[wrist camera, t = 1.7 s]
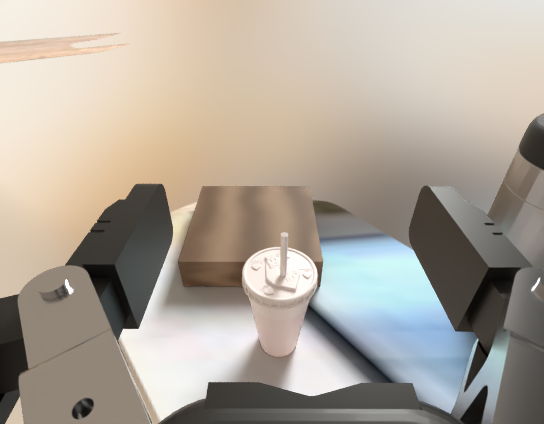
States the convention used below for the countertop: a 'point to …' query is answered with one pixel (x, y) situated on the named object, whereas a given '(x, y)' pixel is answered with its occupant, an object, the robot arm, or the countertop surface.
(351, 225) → the countertop surface
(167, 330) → the countertop surface
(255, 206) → the plinth
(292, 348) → the smoothie
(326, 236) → the countertop surface
